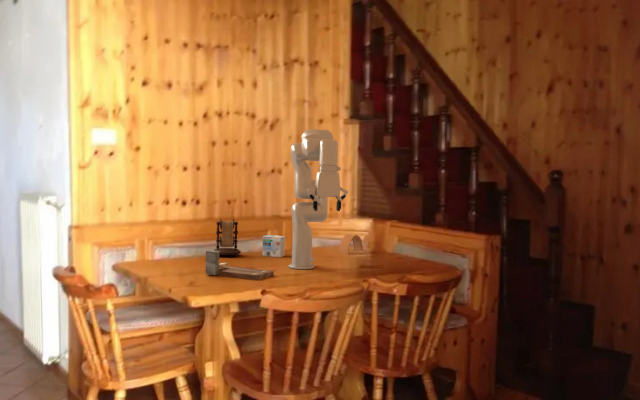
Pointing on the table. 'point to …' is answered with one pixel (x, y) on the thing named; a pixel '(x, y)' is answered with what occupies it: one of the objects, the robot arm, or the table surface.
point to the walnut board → (245, 273)
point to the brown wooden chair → (227, 238)
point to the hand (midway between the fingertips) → (326, 210)
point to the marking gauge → (213, 263)
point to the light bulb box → (273, 246)
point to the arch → (346, 243)
